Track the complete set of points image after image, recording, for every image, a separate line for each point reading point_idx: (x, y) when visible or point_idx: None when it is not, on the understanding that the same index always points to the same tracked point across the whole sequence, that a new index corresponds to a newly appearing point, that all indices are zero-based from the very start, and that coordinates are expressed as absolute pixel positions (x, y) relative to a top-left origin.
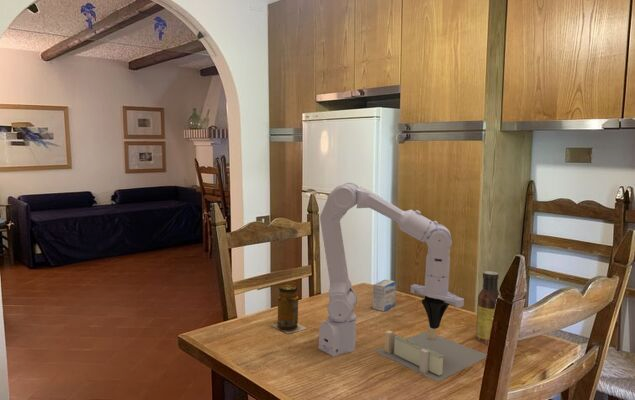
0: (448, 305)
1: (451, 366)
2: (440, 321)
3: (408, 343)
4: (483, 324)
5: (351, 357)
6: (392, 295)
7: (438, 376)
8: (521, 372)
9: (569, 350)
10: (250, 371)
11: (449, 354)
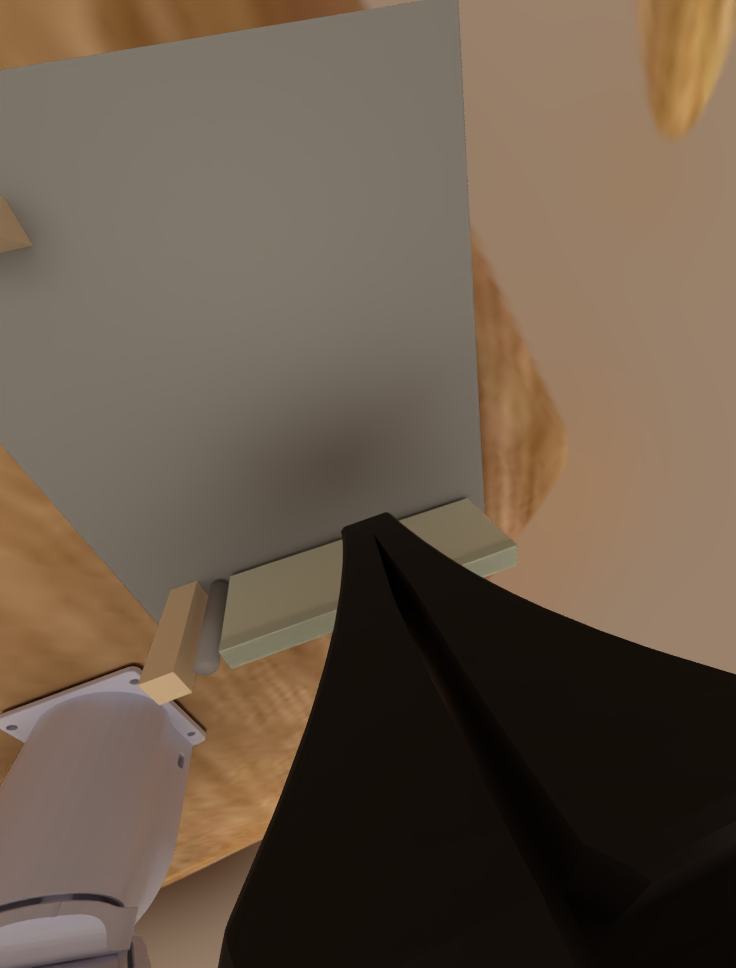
0: (691, 666)
1: (434, 413)
2: (416, 536)
3: (332, 629)
4: None
5: (192, 695)
6: None
7: None
8: (661, 3)
9: None
10: (218, 850)
11: (324, 322)
